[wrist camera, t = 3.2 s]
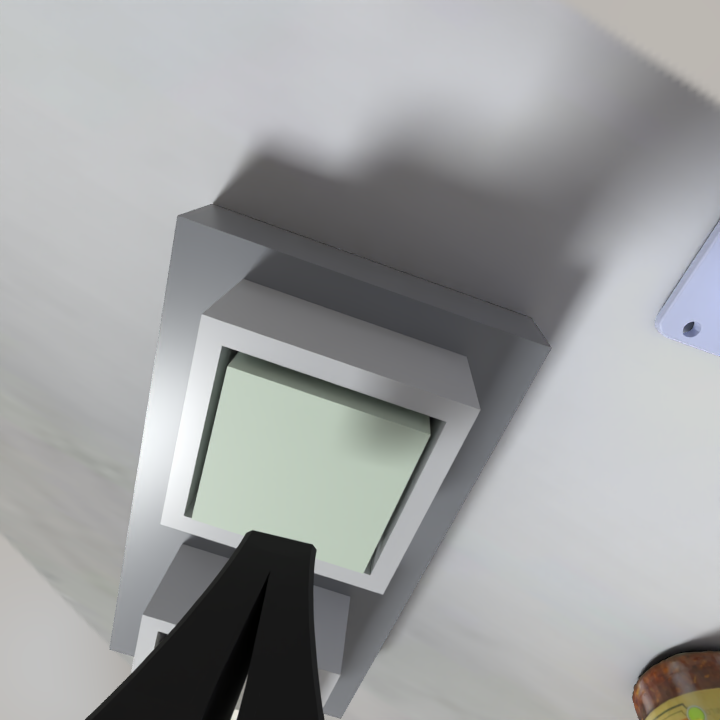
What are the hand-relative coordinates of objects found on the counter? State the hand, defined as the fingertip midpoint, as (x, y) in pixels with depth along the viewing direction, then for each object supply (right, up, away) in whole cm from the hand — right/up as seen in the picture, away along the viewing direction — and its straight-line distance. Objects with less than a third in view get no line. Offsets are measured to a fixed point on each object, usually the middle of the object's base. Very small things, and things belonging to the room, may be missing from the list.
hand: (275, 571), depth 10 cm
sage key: (0, +2, +4) cm, 5 cm away
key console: (-1, -1, +10) cm, 10 cm away
